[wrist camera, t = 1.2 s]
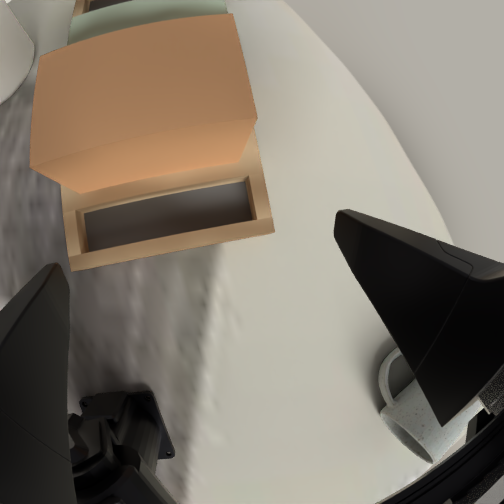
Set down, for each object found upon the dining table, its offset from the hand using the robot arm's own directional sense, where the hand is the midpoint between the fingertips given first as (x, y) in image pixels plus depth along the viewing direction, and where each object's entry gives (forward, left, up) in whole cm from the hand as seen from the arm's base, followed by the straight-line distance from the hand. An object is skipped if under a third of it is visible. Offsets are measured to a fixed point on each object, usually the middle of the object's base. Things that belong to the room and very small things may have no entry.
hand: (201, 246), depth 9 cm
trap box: (+14, +2, -12) cm, 19 cm away
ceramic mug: (-16, -16, -13) cm, 26 cm away
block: (+9, +2, -10) cm, 14 cm away
